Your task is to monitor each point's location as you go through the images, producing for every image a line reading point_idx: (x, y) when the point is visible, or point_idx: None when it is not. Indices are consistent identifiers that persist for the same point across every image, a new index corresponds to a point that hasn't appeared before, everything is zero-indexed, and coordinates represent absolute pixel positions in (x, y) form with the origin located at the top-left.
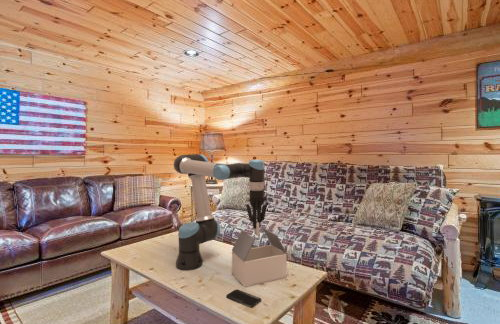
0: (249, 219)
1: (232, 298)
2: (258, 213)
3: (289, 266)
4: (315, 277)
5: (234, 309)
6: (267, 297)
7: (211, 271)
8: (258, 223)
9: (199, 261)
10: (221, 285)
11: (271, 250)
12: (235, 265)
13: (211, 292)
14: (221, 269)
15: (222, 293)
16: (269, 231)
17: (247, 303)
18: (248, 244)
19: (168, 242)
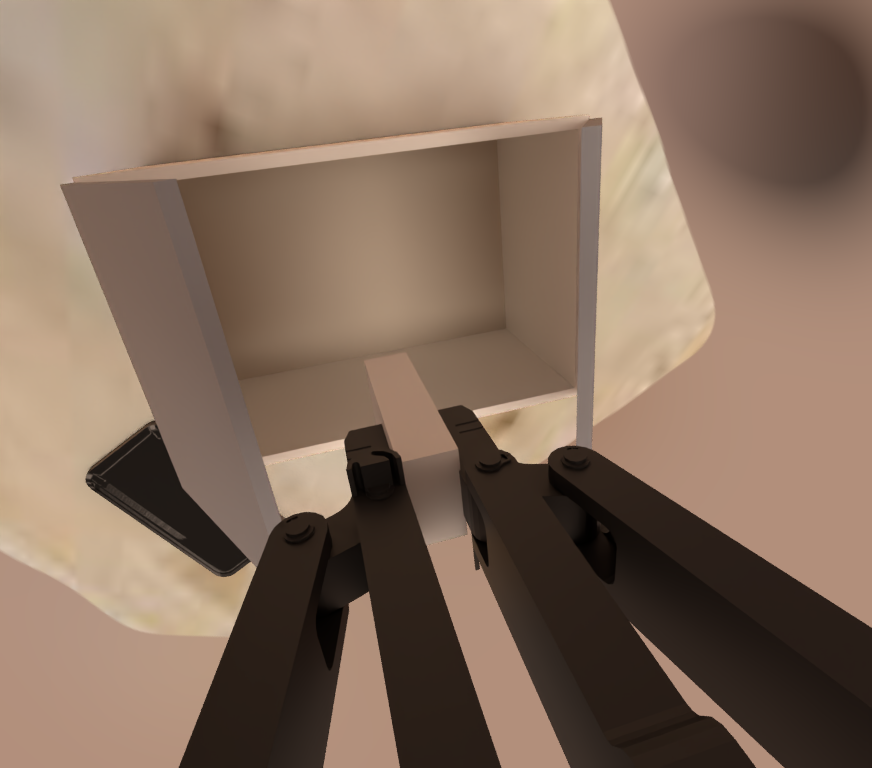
0: (266, 561)
1: (125, 510)
2: (538, 682)
3: (612, 182)
4: (648, 370)
5: (134, 574)
6: (326, 505)
7: None
8: (447, 529)
9: None
10: (47, 332)
11: (553, 142)
12: None
13: None
14: (30, 18)
15: (60, 432)
16: (585, 373)
17: (207, 554)
18: (230, 510)
19: None
